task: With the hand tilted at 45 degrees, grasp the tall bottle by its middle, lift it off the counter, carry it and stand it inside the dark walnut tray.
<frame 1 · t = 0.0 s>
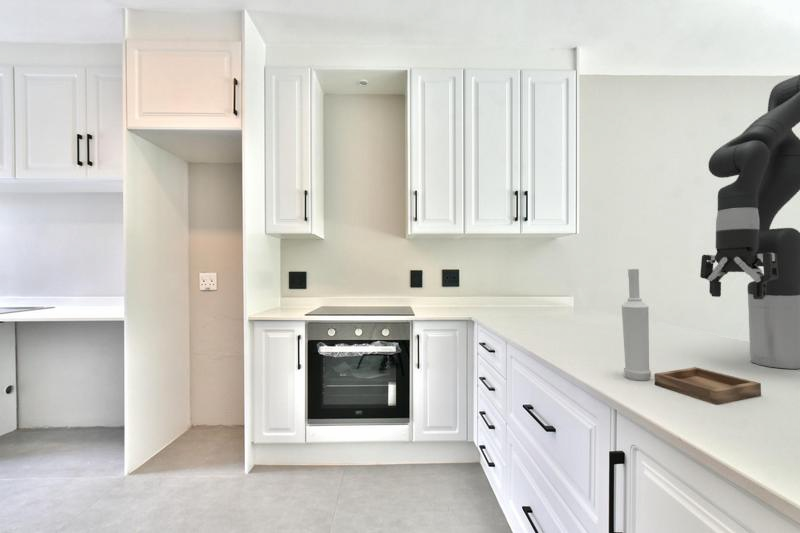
hand: (736, 297, 85), 17 cm above the counter, tool pointing down, fingers open, 8 cm apart
bottle: (637, 378, 84), on the counter
walnut tray: (705, 389, 74), on the counter
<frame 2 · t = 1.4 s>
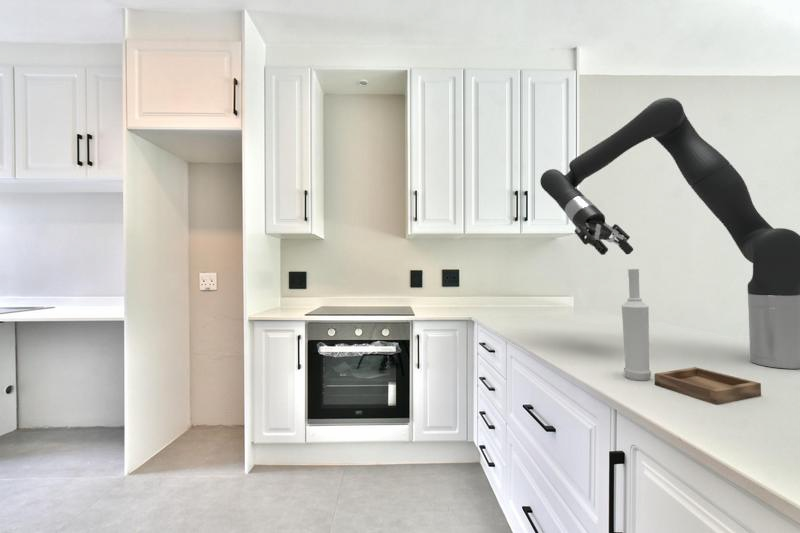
hand: (618, 252, 96), 29 cm above the counter, tool tilted 45°, fingers open, 8 cm apart
nothing on the counter moved.
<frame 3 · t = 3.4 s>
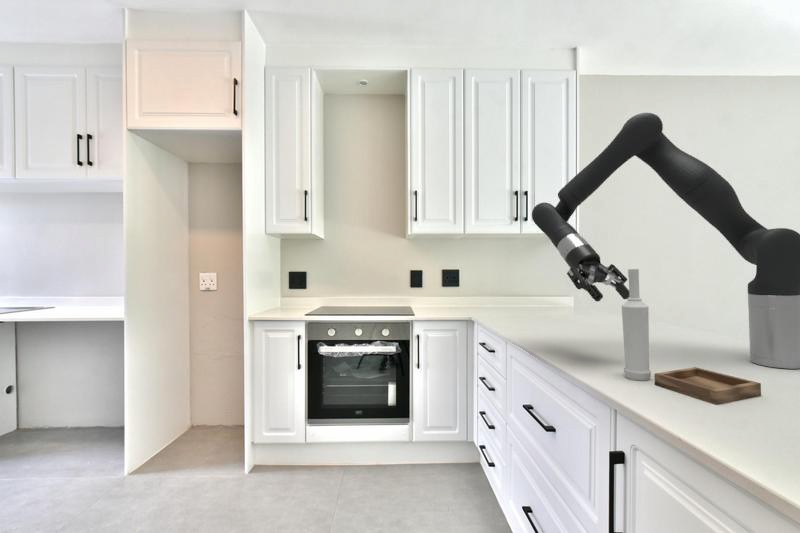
hand: (614, 298, 89), 18 cm above the counter, tool tilted 45°, fingers open, 8 cm apart
nothing on the counter moved.
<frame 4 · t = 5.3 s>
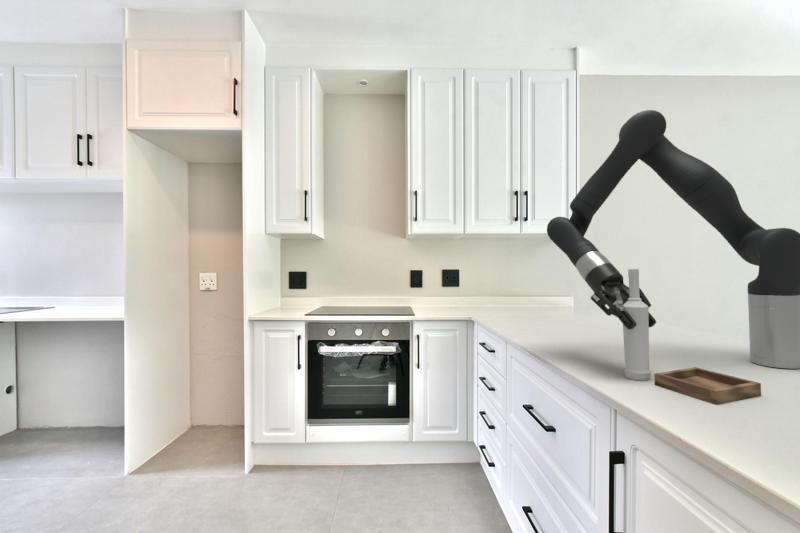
hand: (642, 325, 82), 12 cm above the counter, tool tilted 45°, fingers closed on bottle, 5 cm apart
bottle: (637, 378, 84), on the counter, touching gripper
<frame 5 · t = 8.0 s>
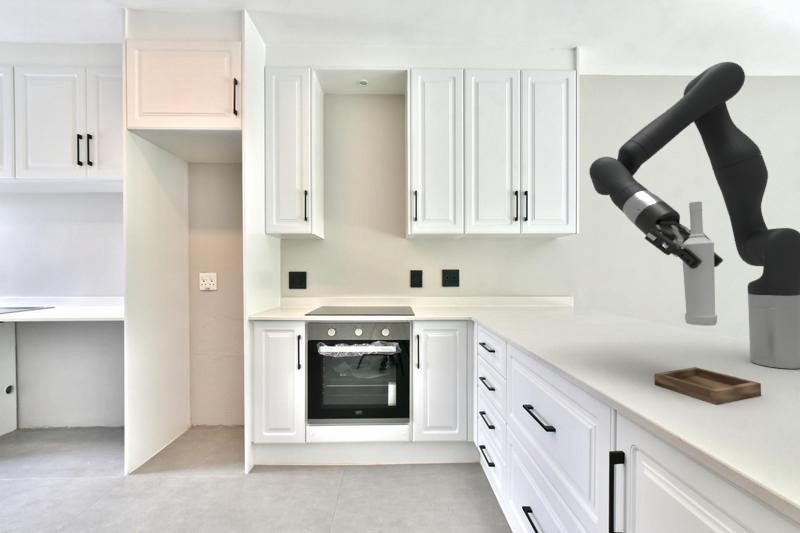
hand: (707, 264, 73), 26 cm above the counter, tool tilted 45°, fingers closed on bottle, 5 cm apart
bottle: (701, 324, 75), point 13 cm above the counter, touching gripper
when the fingers open (14 cm above the counter, at t = 10.7 s): bottle drops 2 cm, resting on walnut tray.
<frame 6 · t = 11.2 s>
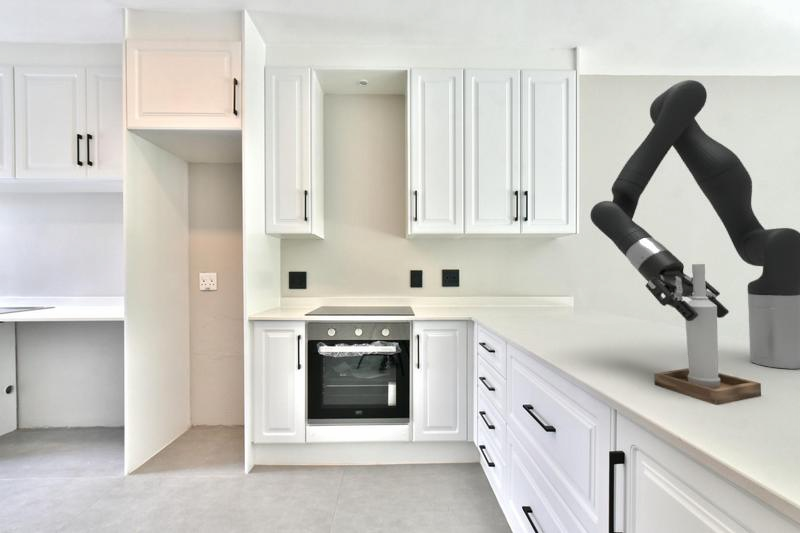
hand: (709, 316, 73), 15 cm above the counter, tool tilted 45°, fingers open, 8 cm apart
bottle: (704, 386, 75), point 1 cm above the counter, touching walnut tray
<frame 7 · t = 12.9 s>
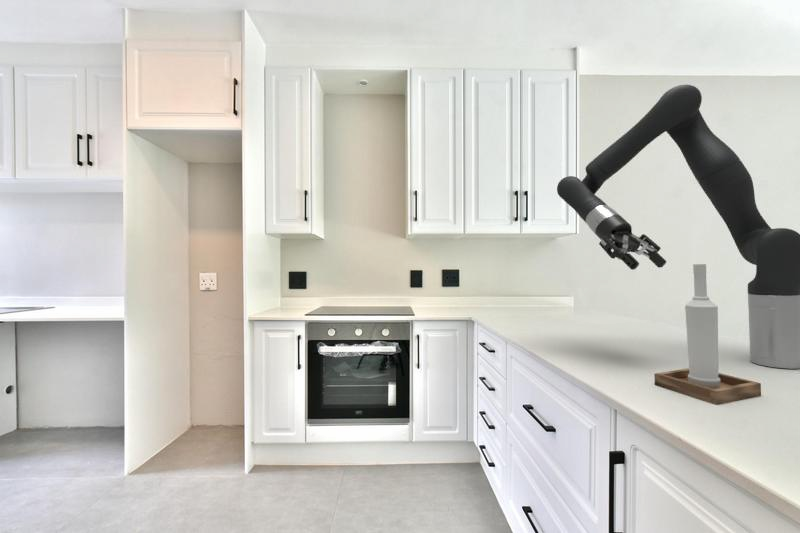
hand: (649, 266, 88), 25 cm above the counter, tool tilted 45°, fingers open, 8 cm apart
nothing on the counter moved.
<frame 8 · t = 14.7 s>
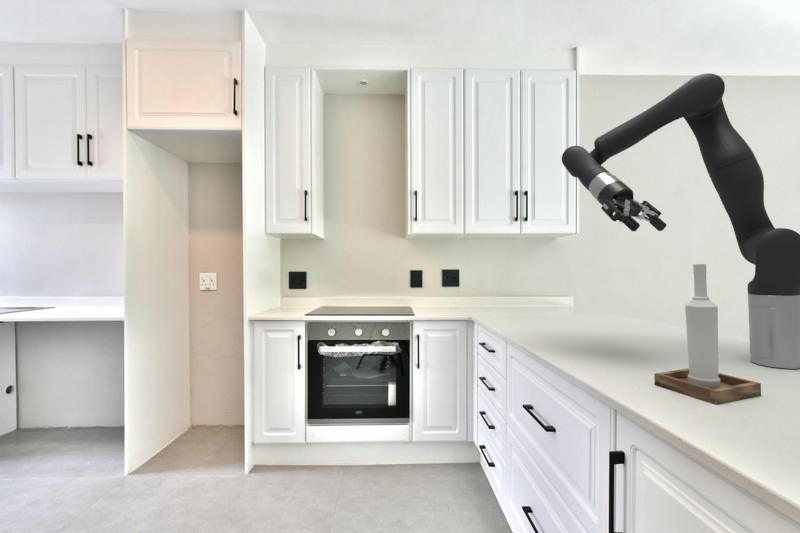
hand: (650, 228, 90), 35 cm above the counter, tool tilted 45°, fingers open, 8 cm apart
nothing on the counter moved.
at the end: bottle inside the target area on the walnut tray (0.2 cm from its centre), point 0.6 cm above the walnut tray's base; bottle tilted 0°; the gripper is holding nothing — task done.
